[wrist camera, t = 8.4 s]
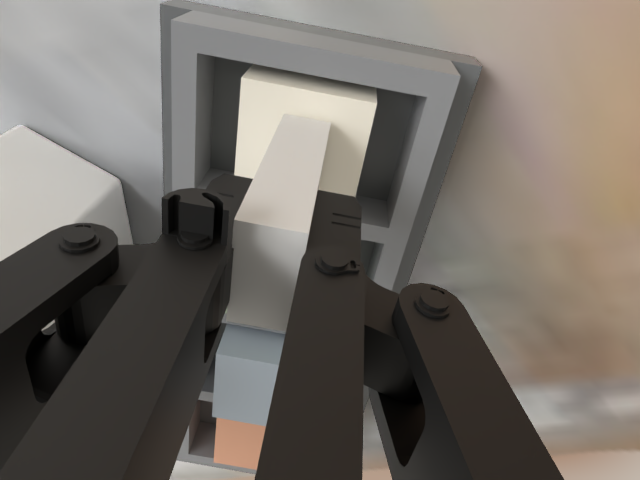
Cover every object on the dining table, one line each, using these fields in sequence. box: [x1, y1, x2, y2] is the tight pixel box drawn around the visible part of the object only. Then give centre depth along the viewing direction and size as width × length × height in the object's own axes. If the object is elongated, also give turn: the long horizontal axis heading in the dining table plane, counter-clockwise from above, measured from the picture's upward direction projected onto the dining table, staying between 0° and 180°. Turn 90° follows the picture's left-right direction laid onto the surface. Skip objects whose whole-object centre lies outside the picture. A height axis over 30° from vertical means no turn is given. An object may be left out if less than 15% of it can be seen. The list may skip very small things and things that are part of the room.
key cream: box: [234, 64, 377, 197], centre depth 16 cm, size 4×4×2 cm
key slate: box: [212, 324, 285, 426], centre depth 22 cm, size 4×4×2 cm
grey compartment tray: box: [160, 0, 482, 474], centre depth 22 cm, size 11×23×4 cm, turn 171°
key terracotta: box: [214, 418, 266, 470], centre depth 25 cm, size 4×4×2 cm
